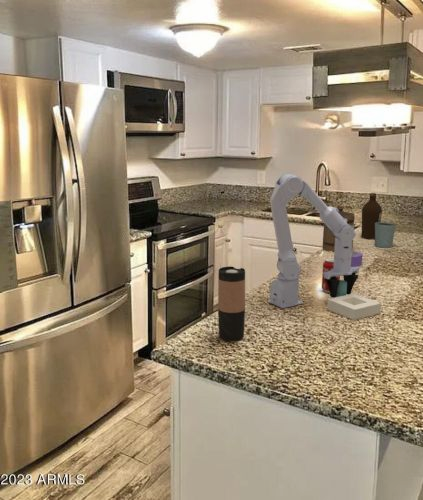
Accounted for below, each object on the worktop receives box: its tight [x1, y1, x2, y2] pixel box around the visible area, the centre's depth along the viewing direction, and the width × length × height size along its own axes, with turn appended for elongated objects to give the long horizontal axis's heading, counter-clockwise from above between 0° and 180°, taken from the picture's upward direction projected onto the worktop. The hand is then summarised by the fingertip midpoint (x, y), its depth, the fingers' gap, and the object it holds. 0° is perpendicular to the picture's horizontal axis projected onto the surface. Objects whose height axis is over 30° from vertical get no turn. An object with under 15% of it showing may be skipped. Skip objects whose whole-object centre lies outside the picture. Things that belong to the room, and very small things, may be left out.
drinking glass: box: [374, 221, 397, 249], centre depth 260 cm, size 10×10×12 cm
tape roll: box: [351, 250, 363, 268], centre depth 226 cm, size 12×12×5 cm
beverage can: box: [321, 257, 341, 294], centre depth 186 cm, size 6×6×12 cm
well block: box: [326, 293, 382, 321], centre depth 165 cm, size 12×12×4 cm
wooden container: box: [322, 205, 356, 253], centre depth 253 cm, size 15×15×22 cm
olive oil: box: [360, 192, 383, 240], centre depth 280 cm, size 11×11×25 cm
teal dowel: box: [336, 279, 348, 297], centre depth 175 cm, size 4×4×7 cm
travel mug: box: [217, 265, 246, 342], centre depth 143 cm, size 8×8×20 cm
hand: (340, 295), depth 176 cm, fingers open, 6 cm apart
